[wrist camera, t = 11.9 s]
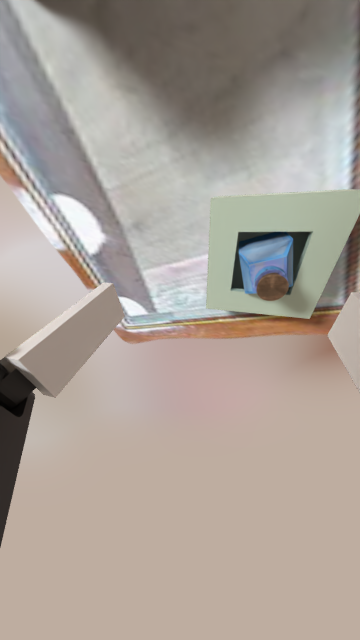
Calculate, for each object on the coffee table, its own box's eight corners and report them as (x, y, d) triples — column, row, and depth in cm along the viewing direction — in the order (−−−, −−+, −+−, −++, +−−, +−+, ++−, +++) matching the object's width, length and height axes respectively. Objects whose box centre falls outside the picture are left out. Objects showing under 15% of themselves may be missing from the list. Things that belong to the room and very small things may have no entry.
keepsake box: (216, 196, 26) (210, 198, 21) (344, 189, 22) (371, 189, 18) (210, 292, 36) (206, 308, 31) (299, 299, 32) (309, 318, 27)
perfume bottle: (244, 277, 31) (245, 315, 22) (239, 241, 28) (238, 268, 19) (284, 269, 29) (304, 308, 19) (283, 229, 26) (307, 252, 16)
